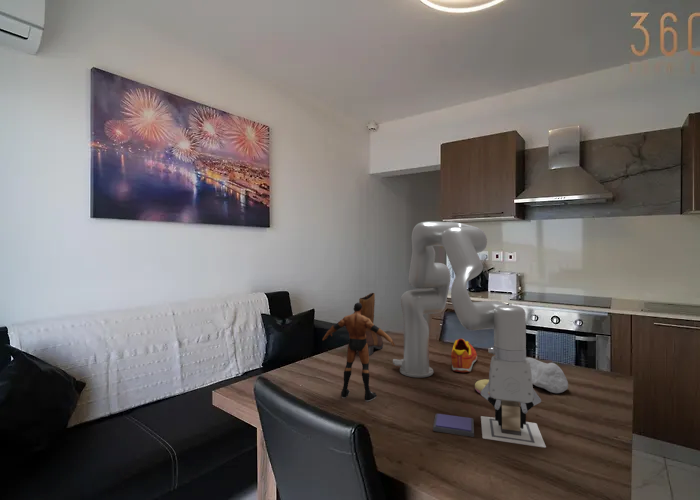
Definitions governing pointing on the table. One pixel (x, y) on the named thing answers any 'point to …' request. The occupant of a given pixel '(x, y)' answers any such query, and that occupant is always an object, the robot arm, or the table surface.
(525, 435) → the sheet
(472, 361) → the running shoe
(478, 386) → the donut
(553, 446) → the table surface
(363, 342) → the figurine
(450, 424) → the ink pad
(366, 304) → the boot
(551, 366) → the decorative stone
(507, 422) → the beige cardboard box
